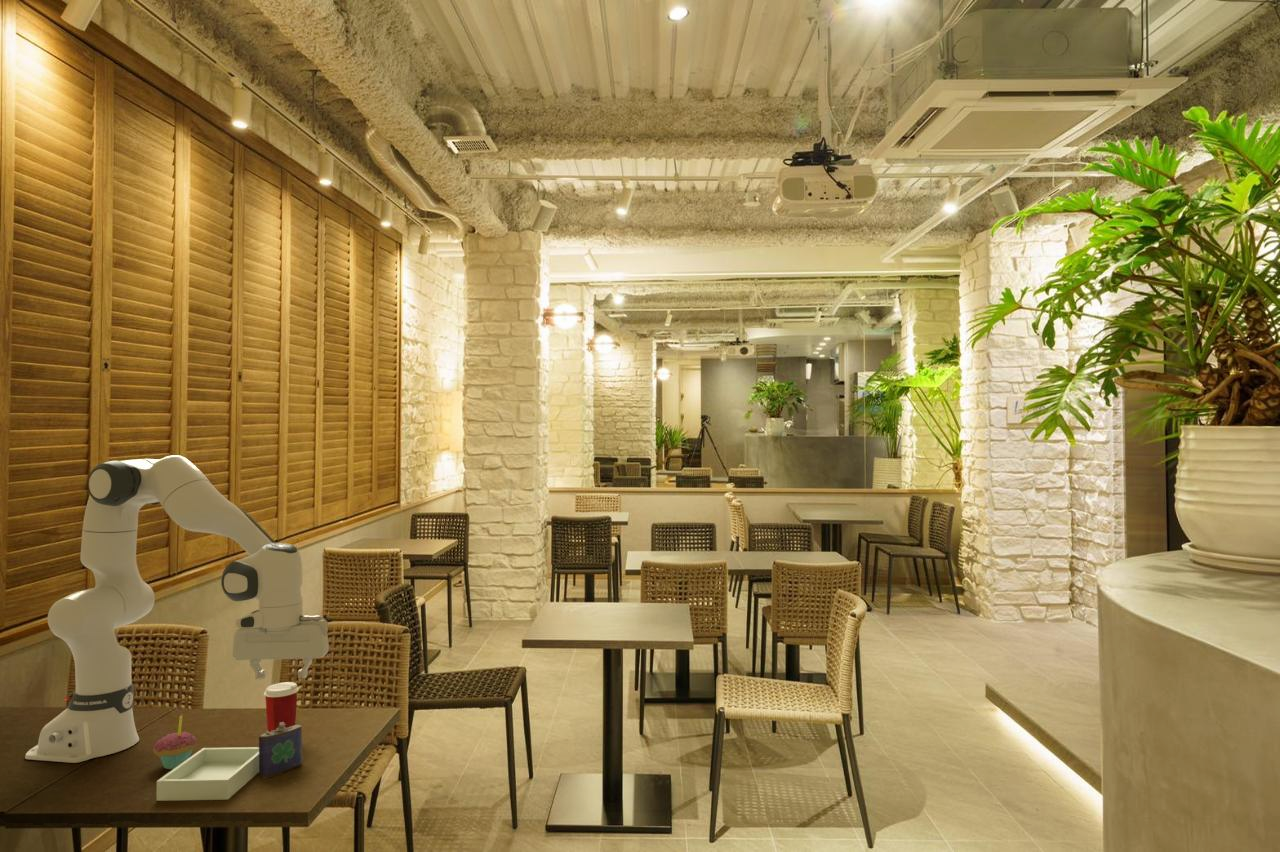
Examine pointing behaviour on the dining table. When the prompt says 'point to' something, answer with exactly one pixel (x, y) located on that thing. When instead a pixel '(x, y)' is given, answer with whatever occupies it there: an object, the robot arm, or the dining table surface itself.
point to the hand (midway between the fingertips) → (281, 678)
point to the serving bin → (210, 774)
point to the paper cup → (281, 704)
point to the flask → (280, 750)
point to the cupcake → (175, 747)
